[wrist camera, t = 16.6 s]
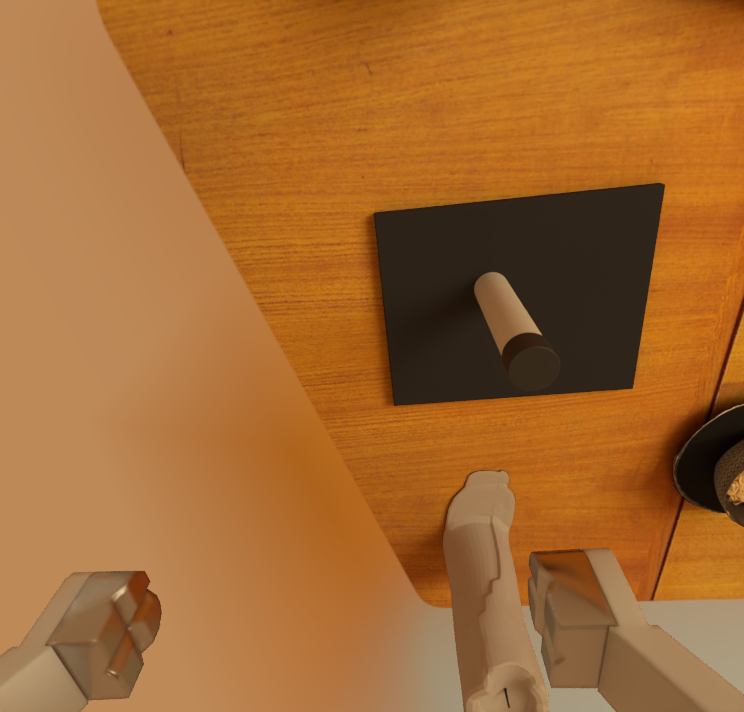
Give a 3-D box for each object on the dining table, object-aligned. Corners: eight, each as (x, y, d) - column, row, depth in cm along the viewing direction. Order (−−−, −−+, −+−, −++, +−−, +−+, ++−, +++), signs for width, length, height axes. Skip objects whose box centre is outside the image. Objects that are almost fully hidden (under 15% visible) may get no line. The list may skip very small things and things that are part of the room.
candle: (524, 471, 51) (596, 670, 33) (500, 563, 57) (549, 770, 40) (455, 466, 51) (489, 662, 33) (438, 558, 57) (460, 764, 40)
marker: (473, 306, 42) (507, 393, 29) (472, 272, 40) (508, 348, 28) (508, 303, 42) (559, 389, 29) (509, 269, 40) (562, 344, 28)
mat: (394, 401, 47) (394, 406, 47) (374, 212, 39) (374, 214, 39) (629, 384, 46) (633, 388, 45) (660, 182, 37) (665, 184, 37)
